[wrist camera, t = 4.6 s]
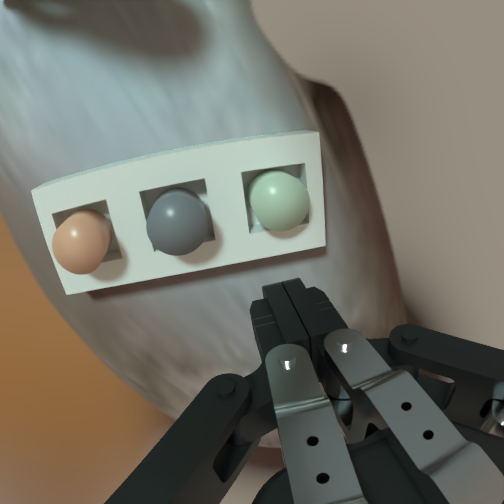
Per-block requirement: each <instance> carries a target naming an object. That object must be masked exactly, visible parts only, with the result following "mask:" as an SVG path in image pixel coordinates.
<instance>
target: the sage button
mask: <svg viewBox="0 0 504 504" xmlns="http://www.w3.org/2000/svg"><path fill="white" fill-rule="evenodd" d="M247 200H248V203H249V206H250V208H251V209H252V211H253V212H254V214H255V216H256V217H257V219H258V220H259V222H260V223H261V224H262V225H263V226H264V227H266V228H268V229H270V230H273V231H287V230H290V229H293V228H295V227H296V226H298V225H299V224H300V223H301V222H302V221H303V220H304V218H305V217H306V215H307V213H308V211H309V206H310V197H309V193H308V191H307V189H306V187H305V186H304V185H303V183H301V182H300V181H299V180H297V179H296V178H294V177H293V176H291V175H290V174H288V173H287V172H285V171H283V170H280V169H266V170H264V171H261V172H260V173H258V174H257V175H256V176H255V177H254V178H253V179H252V180H251V182H250V184H249V186H248V190H247Z"/></svg>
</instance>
